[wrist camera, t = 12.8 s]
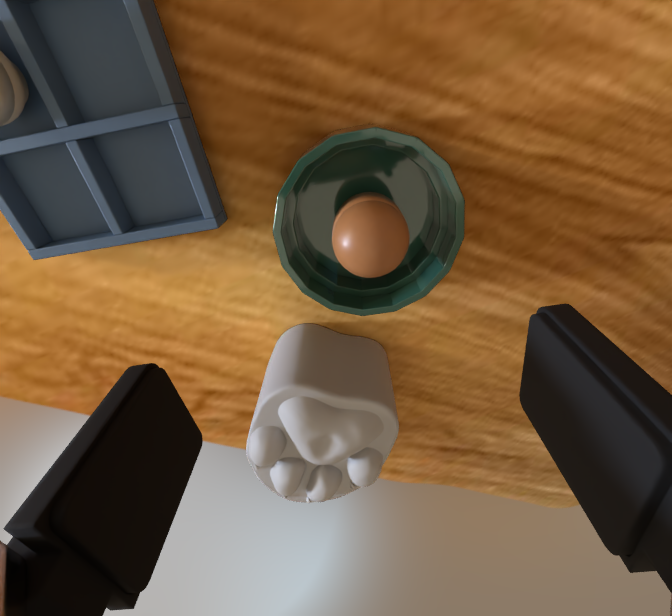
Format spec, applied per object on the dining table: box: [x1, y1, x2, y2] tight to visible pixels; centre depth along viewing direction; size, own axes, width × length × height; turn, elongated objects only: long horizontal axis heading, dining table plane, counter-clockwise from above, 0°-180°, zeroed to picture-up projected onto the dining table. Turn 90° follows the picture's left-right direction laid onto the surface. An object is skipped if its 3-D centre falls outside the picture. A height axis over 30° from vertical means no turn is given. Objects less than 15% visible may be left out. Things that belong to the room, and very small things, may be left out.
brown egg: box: [332, 192, 410, 278], centre depth 20 cm, size 4×4×6 cm
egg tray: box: [0, 0, 227, 260], centre depth 20 cm, size 13×13×2 cm
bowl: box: [273, 124, 465, 316], centre depth 22 cm, size 11×11×4 cm
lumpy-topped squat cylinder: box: [246, 323, 399, 503], centre depth 28 cm, size 10×13×9 cm
